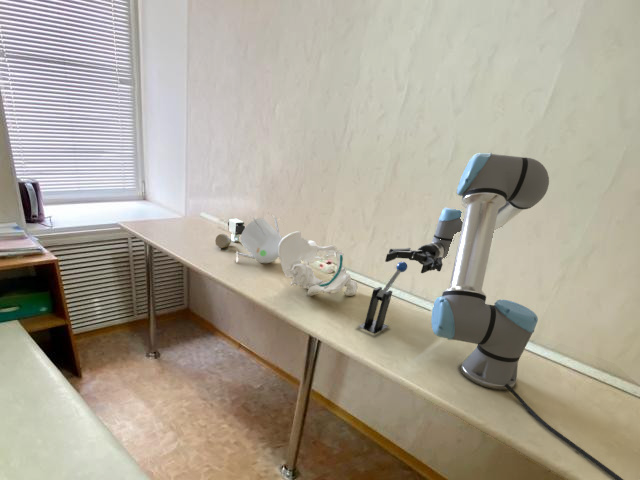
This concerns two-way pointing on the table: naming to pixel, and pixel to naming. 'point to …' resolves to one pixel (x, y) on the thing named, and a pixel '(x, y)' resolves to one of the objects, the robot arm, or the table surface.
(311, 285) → the pelvis
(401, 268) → the tap lever
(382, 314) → the lever stand
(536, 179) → the robot arm
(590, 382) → the table surface
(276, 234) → the satellite
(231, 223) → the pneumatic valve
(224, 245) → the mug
